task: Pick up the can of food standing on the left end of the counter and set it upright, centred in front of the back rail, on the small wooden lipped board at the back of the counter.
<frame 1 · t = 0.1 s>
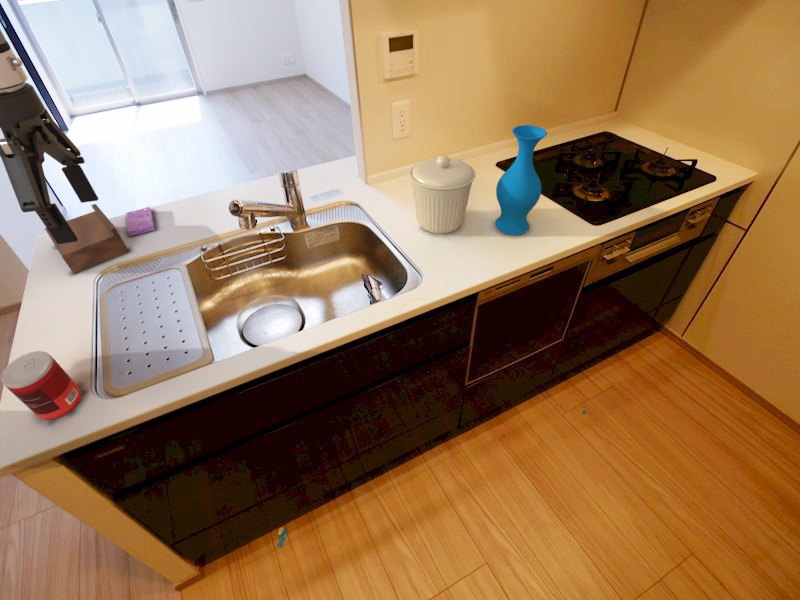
hand: (79, 220, 73), 31 cm above the worktop, tool pointing down, fingers open, 13 cm apart
wooden lipped board: (92, 248, 121), on the worktop
vase: (511, 227, 126), on the worktop
sponge: (141, 224, 130), on the worktop
canister: (439, 224, 127), on the worktop
canned food: (61, 403, 83), on the worktop
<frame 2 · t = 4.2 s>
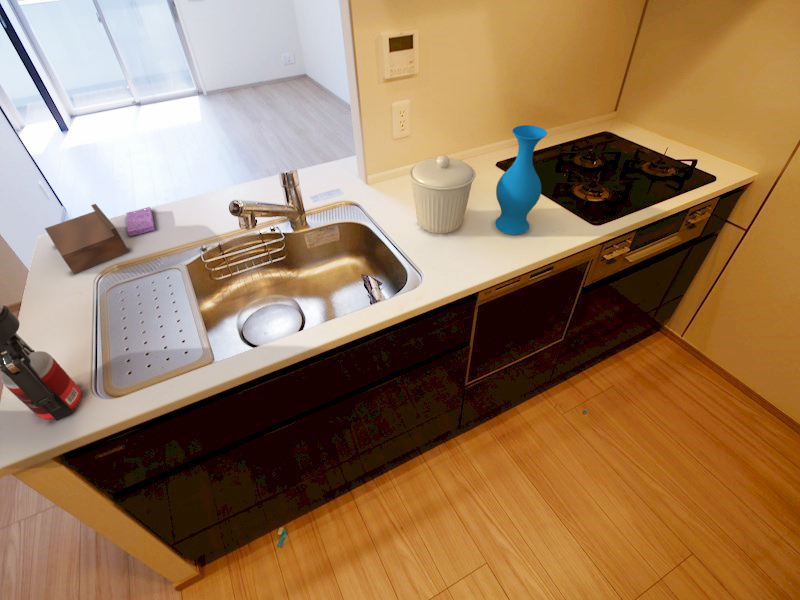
hand: (58, 401, 82), 1 cm above the worktop, tool pointing down, fingers closed on canned food, 8 cm apart
canned food: (61, 403, 83), on the worktop, touching gripper
everything else where it was.
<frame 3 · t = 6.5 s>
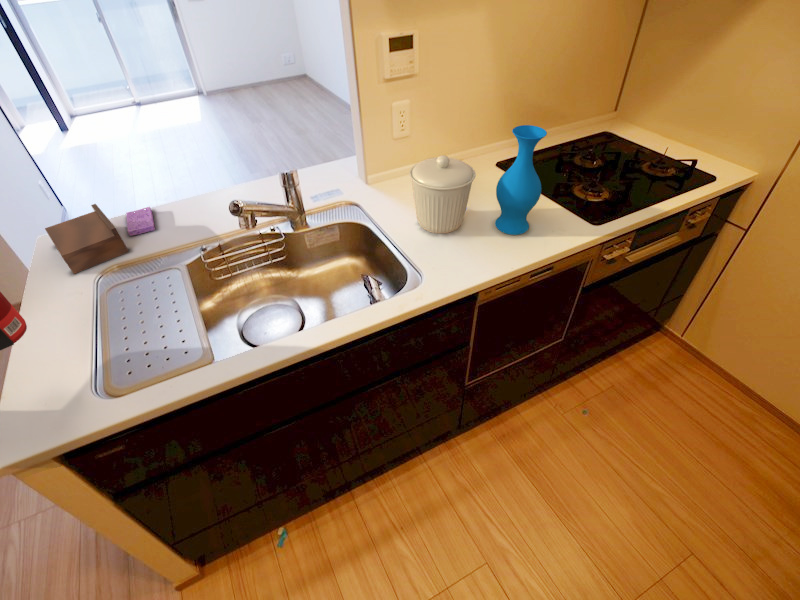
canned food: (2, 337, 72), point 18 cm above the worktop, touching gripper
everything else where it was.
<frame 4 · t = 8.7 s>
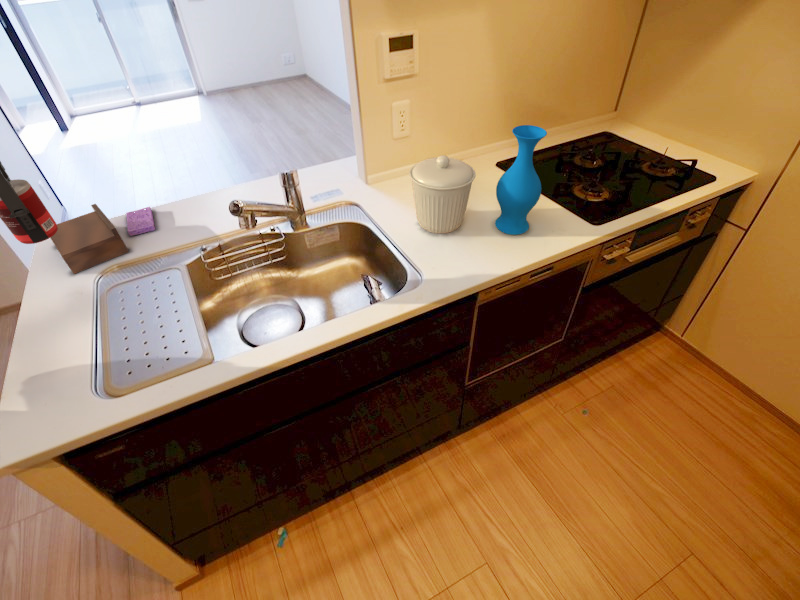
hand: (36, 231, 92), 20 cm above the worktop, tool pointing down, fingers closed on canned food, 8 cm apart
canned food: (39, 235, 93), point 19 cm above the worktop, touching gripper
everything else where it was.
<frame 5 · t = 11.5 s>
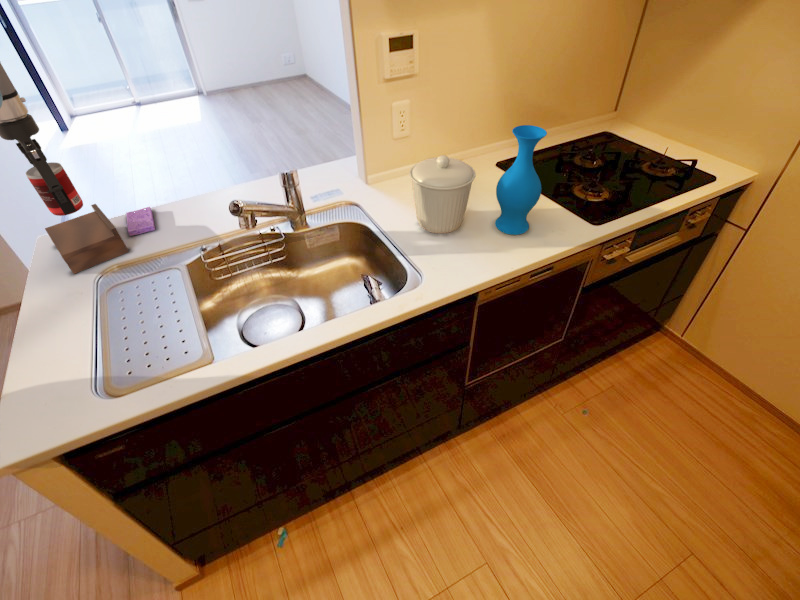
hand: (66, 206, 111), 14 cm above the worktop, tool pointing down, fingers closed on canned food, 8 cm apart
canned food: (68, 209, 112), point 13 cm above the worktop, touching gripper
everything else where it was.
when the fingers open (7 cm above the worktop, at t = 13.6 s): canned food stays where it is, resting on wooden lipped board.
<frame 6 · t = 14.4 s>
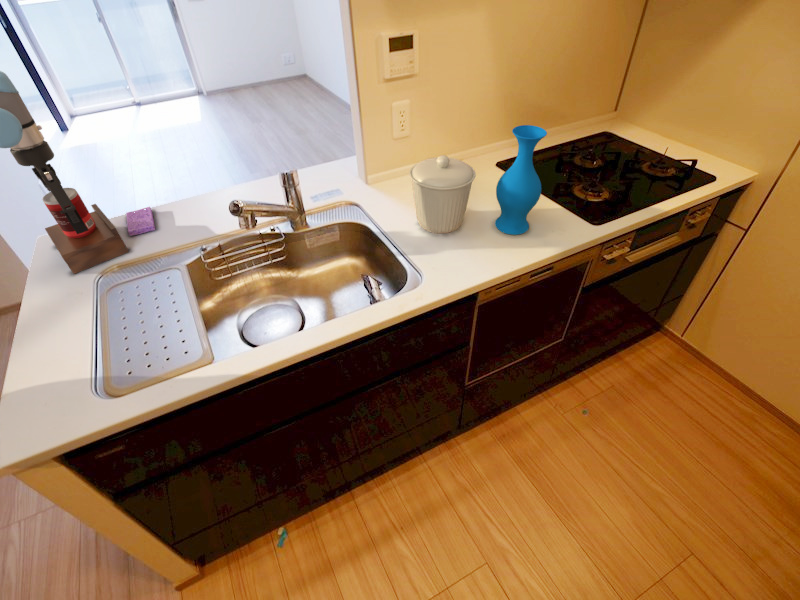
hand: (75, 222, 114), 9 cm above the worktop, tool pointing down, fingers open, 13 cm apart
canned food: (82, 231, 117), point 6 cm above the worktop, touching wooden lipped board
everything else where it was.
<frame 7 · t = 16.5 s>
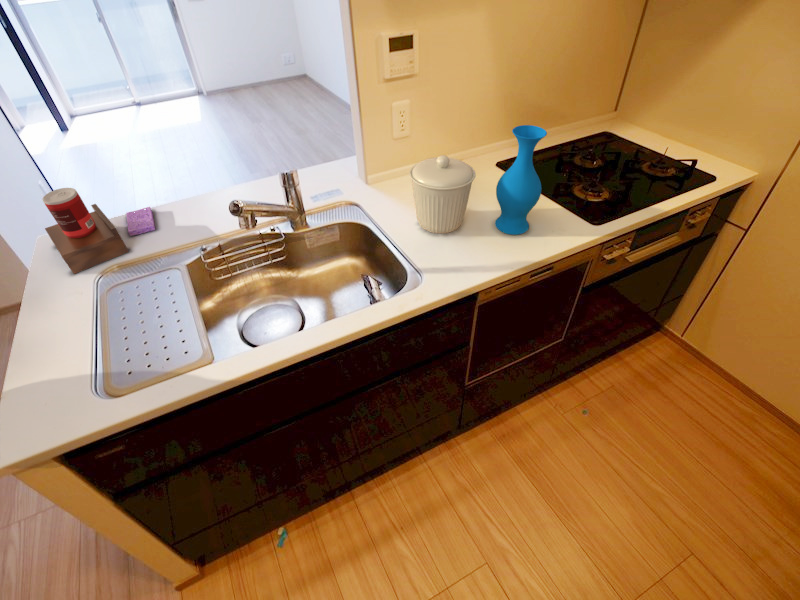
nothing on the worktop moved.
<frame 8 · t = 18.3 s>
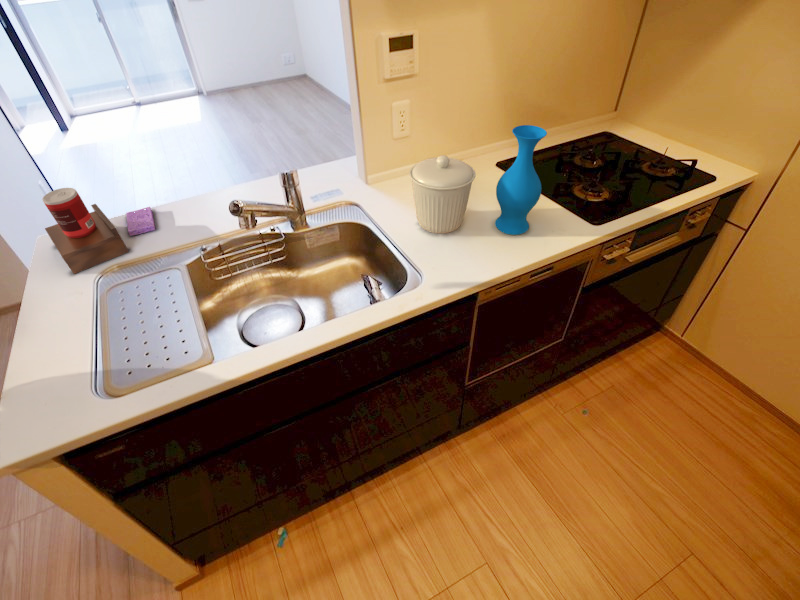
nothing on the worktop moved.
at the end: canned food inside the target area on the wooden lipped board (0.1 cm from its centre), point 5.8 cm above the wooden lipped board's base; canned food tilted 0°; the gripper is holding nothing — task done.
